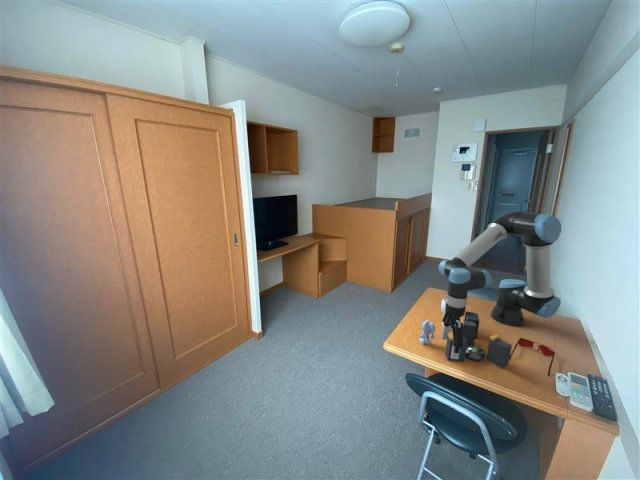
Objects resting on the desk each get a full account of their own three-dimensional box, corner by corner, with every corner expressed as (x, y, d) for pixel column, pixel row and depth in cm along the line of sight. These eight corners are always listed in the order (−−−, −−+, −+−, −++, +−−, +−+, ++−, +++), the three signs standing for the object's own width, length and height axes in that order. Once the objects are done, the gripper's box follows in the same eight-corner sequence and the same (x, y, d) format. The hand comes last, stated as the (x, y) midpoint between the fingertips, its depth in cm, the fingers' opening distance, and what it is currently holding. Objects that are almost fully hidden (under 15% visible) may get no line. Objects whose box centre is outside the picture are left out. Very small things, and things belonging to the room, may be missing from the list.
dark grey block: (461, 355, 120) (464, 334, 117) (464, 361, 116) (468, 339, 113) (445, 354, 121) (447, 332, 118) (447, 360, 117) (450, 338, 114)
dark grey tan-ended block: (508, 365, 113) (512, 343, 111) (502, 368, 112) (506, 345, 109) (491, 356, 120) (495, 334, 117) (486, 358, 118) (489, 336, 115)
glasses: (554, 358, 119) (556, 348, 118) (549, 377, 108) (551, 366, 107) (516, 344, 129) (518, 335, 127) (508, 360, 118) (510, 350, 116)
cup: (456, 321, 148) (459, 296, 144) (464, 332, 138) (467, 306, 134) (436, 320, 149) (439, 296, 145) (442, 331, 139) (445, 305, 135)
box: (463, 328, 141) (465, 310, 138) (475, 331, 139) (478, 313, 136) (464, 336, 134) (466, 318, 132) (476, 339, 132) (479, 320, 129)
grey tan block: (470, 339, 131) (473, 319, 129) (473, 344, 127) (477, 324, 125) (455, 338, 132) (458, 318, 130) (458, 343, 129) (461, 323, 126)
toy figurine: (430, 338, 133) (432, 317, 130) (435, 346, 126) (437, 324, 124) (416, 338, 133) (418, 316, 130) (420, 346, 127) (422, 324, 124)
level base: (479, 348, 125) (480, 342, 124) (488, 362, 116) (489, 355, 115) (457, 346, 126) (458, 340, 125) (464, 360, 117) (465, 353, 116)
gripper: (438, 291, 125) (433, 331, 130) (455, 318, 101) (449, 366, 106) (455, 292, 124) (450, 333, 129) (477, 320, 100) (469, 368, 105)
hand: (449, 348), depth 118 cm, fingers open, 13 cm apart
